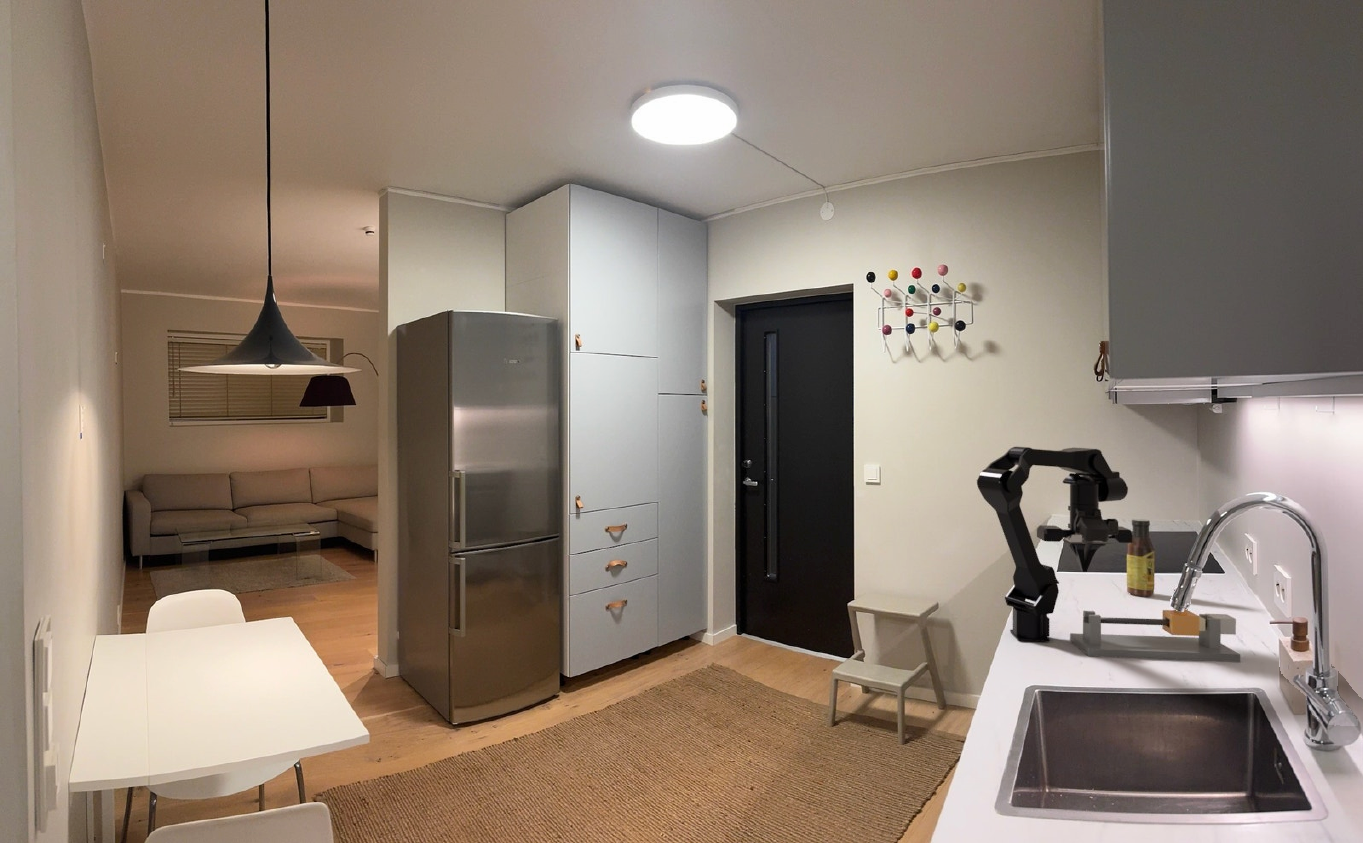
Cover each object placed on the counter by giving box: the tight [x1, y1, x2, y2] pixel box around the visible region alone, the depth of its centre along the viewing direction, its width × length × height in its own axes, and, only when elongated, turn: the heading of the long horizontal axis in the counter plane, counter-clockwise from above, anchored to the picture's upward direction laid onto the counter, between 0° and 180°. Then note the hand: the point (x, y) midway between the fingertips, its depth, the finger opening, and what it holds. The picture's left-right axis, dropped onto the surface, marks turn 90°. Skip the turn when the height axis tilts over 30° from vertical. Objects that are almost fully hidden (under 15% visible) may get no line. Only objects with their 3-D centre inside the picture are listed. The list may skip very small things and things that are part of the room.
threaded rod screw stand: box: [1069, 610, 1241, 663], centre depth 151 cm, size 29×10×8 cm, turn 81°
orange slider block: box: [1161, 589, 1199, 637], centre depth 151 cm, size 5×4×8 cm
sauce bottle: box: [1126, 518, 1156, 597], centre depth 194 cm, size 7×6×20 cm
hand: (1083, 571), depth 166 cm, fingers closed
